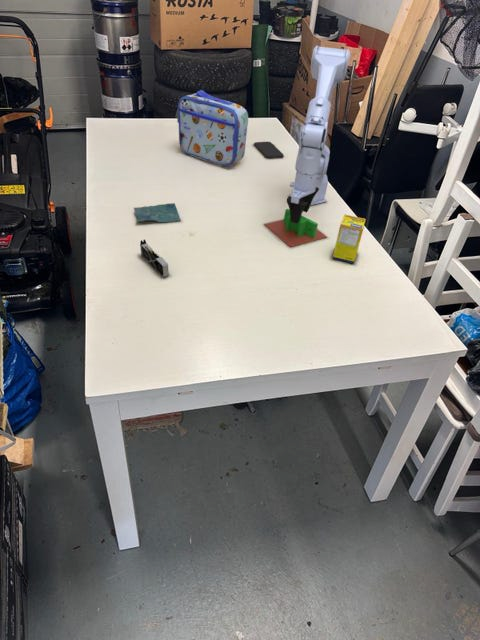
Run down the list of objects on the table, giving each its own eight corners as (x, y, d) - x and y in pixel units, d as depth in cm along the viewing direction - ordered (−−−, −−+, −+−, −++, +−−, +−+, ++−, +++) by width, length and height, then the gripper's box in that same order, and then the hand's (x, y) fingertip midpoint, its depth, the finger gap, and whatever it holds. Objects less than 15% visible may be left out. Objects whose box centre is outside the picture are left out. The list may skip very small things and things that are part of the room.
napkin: (299, 216, 143) (299, 215, 143) (326, 237, 134) (326, 236, 134) (264, 224, 137) (264, 223, 137) (290, 247, 129) (290, 246, 129)
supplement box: (356, 253, 129) (366, 218, 122) (353, 264, 125) (363, 228, 117) (335, 248, 130) (344, 213, 123) (332, 259, 126) (340, 223, 119)
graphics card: (141, 256, 121) (135, 242, 117) (149, 252, 122) (143, 237, 118) (163, 279, 114) (158, 264, 110) (172, 273, 115) (167, 259, 111)
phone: (270, 141, 187) (284, 155, 177) (269, 143, 188) (284, 157, 177) (253, 142, 185) (266, 156, 174) (252, 144, 185) (266, 158, 175)
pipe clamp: (277, 226, 137) (279, 212, 134) (285, 222, 139) (287, 208, 136) (307, 241, 131) (309, 227, 128) (315, 237, 133) (318, 223, 130)
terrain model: (175, 208, 141) (175, 202, 139) (180, 221, 135) (180, 216, 134) (132, 212, 137) (132, 206, 136) (136, 226, 132) (136, 220, 131)
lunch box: (171, 152, 174) (170, 89, 159) (188, 144, 181) (188, 83, 166) (232, 172, 164) (236, 107, 149) (247, 163, 171) (253, 100, 156)
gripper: (302, 158, 129) (295, 202, 138) (283, 176, 119) (276, 223, 128) (326, 164, 127) (317, 209, 136) (308, 183, 117) (300, 230, 126)
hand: (299, 216), depth 132 cm, fingers open, 7 cm apart
